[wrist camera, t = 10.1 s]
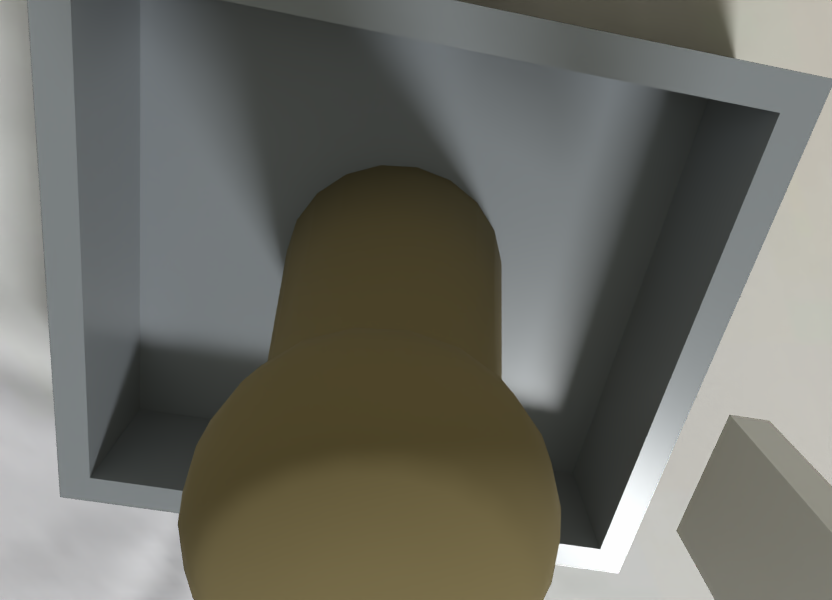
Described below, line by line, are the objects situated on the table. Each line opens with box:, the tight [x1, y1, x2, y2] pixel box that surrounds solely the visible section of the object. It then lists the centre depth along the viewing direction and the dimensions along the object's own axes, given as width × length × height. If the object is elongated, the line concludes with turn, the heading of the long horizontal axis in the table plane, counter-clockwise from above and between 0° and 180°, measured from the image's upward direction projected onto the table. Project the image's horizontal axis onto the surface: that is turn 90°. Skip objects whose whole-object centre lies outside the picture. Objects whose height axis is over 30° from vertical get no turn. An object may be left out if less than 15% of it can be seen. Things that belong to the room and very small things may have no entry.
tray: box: [27, 0, 832, 573], centre depth 16 cm, size 16×14×4 cm
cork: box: [178, 165, 561, 600], centre depth 12 cm, size 6×6×11 cm
